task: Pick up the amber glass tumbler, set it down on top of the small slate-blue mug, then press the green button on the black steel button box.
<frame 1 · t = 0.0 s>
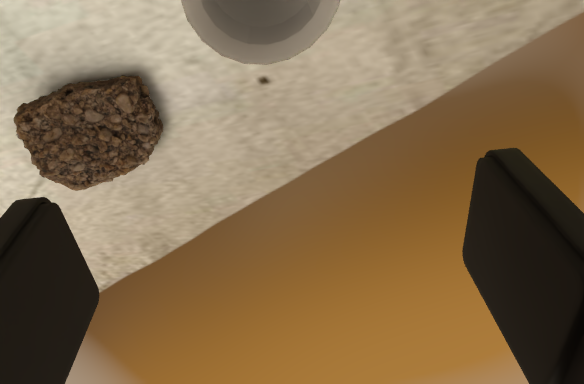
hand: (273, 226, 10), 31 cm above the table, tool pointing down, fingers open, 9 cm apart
concrete sample: (103, 122, 42), on the table
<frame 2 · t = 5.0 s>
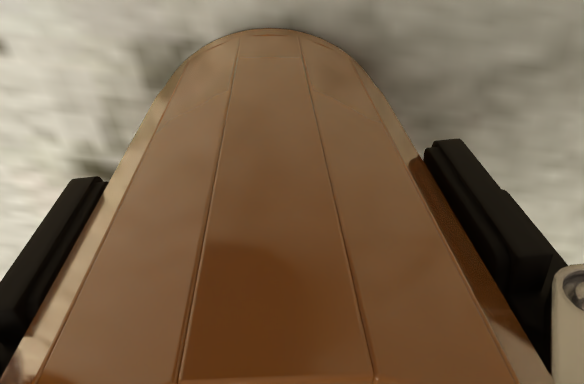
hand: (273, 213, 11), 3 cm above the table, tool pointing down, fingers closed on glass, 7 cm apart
glass: (272, 147, 13), on the table, touching gripper
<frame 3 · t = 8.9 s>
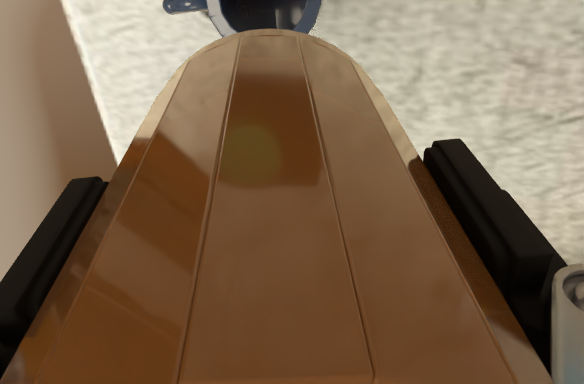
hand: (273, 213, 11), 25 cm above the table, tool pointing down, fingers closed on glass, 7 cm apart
glass: (272, 148, 13), point 22 cm above the table, touching gripper
when the fingers open (12 cm above the table, at t = 13.3 s): glass stays where it is, resting on mug.
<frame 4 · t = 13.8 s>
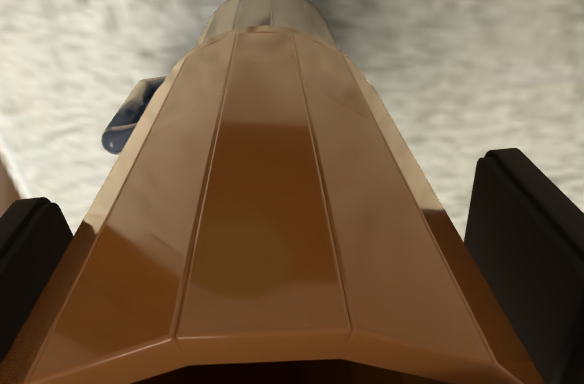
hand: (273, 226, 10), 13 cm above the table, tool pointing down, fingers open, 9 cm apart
glass: (267, 142, 14), point 8 cm above the table, touching mug
mug: (267, 58, 21), on the table
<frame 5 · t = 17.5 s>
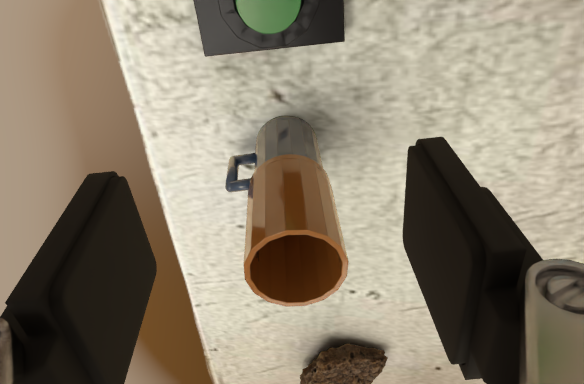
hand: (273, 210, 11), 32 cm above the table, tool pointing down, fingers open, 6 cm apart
glass: (289, 189, 38), point 8 cm above the table, touching mug
mug: (286, 143, 45), on the table
concrete sample: (340, 356, 65), on the table
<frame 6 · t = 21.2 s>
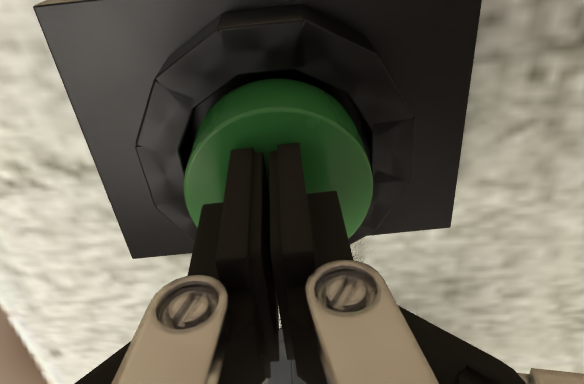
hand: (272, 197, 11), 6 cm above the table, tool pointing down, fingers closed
start button: (278, 175, 12), point 5 cm above the table, slide at 0.1 cm, touching gripper
mug: (308, 360, 24), on the table
button box: (276, 108, 16), on the table
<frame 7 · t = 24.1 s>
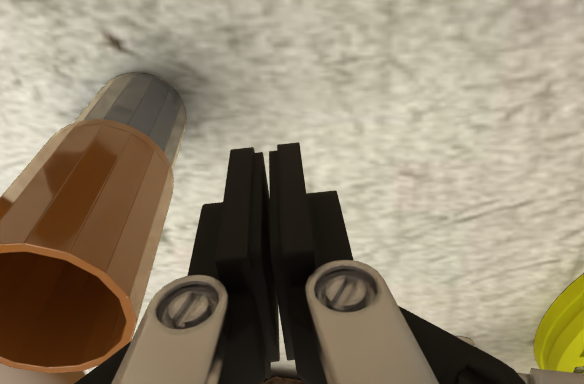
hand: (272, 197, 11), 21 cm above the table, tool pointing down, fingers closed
glass: (110, 176, 25), point 8 cm above the table, touching mug
mug: (142, 114, 32), on the table
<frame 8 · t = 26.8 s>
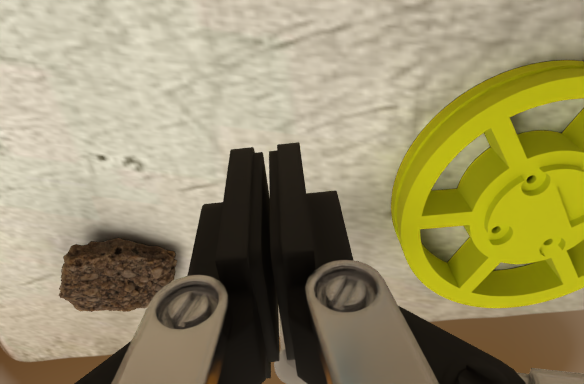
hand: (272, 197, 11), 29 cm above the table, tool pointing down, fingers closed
concrete sample: (124, 262, 51), on the table
chalice: (305, 219, 48), on the table
pulley: (519, 188, 47), on the table
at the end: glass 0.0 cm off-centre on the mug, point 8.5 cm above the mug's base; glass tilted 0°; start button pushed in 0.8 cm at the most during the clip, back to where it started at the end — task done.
